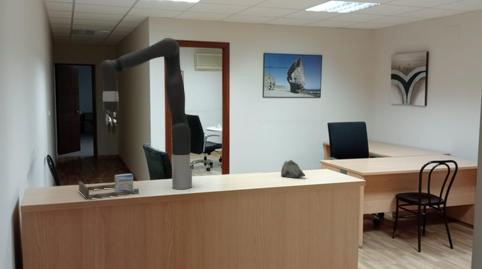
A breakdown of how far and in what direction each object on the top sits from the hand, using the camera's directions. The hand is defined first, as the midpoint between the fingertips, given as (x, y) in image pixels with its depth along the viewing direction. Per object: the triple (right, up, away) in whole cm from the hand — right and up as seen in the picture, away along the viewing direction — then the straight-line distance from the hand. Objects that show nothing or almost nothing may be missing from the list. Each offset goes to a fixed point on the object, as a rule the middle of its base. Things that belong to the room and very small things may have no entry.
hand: (111, 132), depth 225 cm
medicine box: (+8, -29, -7) cm, 31 cm away
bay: (+1, -29, -9) cm, 31 cm away
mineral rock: (+95, -26, +29) cm, 102 cm away
